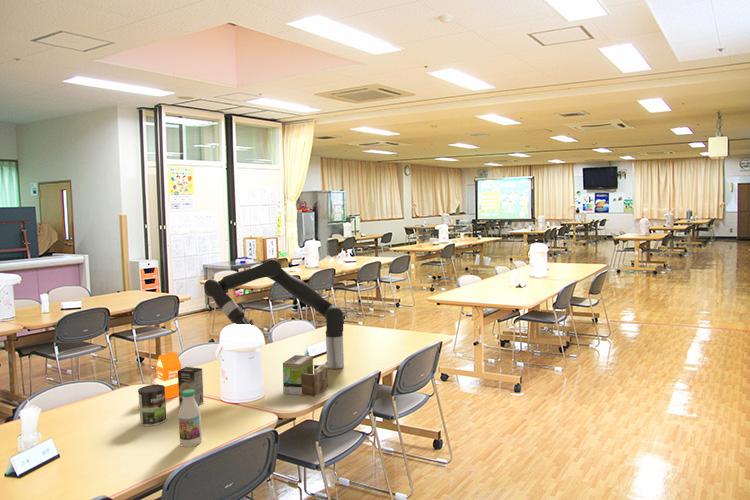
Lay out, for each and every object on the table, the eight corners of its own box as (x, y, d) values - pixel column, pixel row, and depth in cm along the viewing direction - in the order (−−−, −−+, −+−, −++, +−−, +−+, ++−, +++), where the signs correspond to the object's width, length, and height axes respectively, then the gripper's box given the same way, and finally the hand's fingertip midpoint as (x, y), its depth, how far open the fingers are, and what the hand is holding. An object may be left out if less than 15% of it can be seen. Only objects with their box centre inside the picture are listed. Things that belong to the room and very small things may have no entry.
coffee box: (178, 405, 243) (176, 370, 242) (187, 400, 249) (185, 366, 248) (195, 407, 240) (193, 372, 239) (204, 402, 246) (202, 367, 245)
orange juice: (183, 394, 258) (180, 353, 257) (165, 399, 252) (162, 357, 250) (175, 390, 263) (172, 350, 262) (157, 395, 257) (154, 354, 255)
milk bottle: (183, 439, 207) (180, 388, 205) (204, 438, 207) (201, 386, 206) (177, 448, 199) (174, 395, 197) (199, 446, 200) (196, 393, 198)
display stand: (315, 384, 266) (314, 360, 265) (329, 385, 264) (328, 360, 263) (302, 395, 252) (301, 369, 251) (316, 396, 250) (315, 370, 249)
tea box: (303, 395, 252) (301, 363, 251) (282, 393, 255) (281, 362, 253) (314, 384, 267) (313, 355, 266) (295, 383, 269) (293, 354, 268)
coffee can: (172, 419, 227) (170, 386, 226) (150, 428, 218) (148, 394, 217) (156, 414, 232) (154, 382, 231) (134, 423, 224) (132, 390, 223)
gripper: (229, 309, 261) (253, 335, 258) (244, 304, 274) (267, 329, 271) (220, 319, 263) (244, 345, 260) (236, 314, 276) (258, 339, 273)
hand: (255, 337), depth 266 cm, fingers closed
